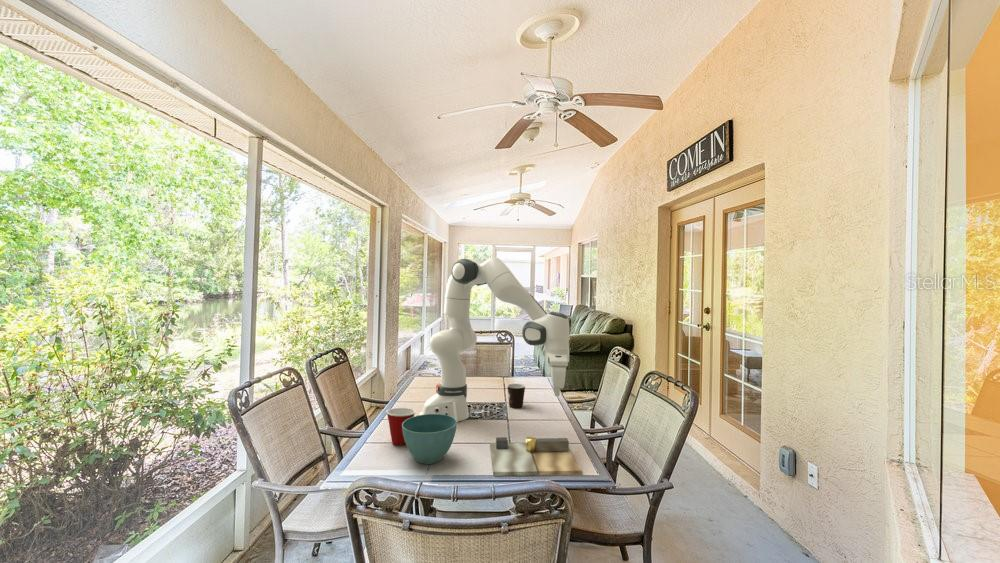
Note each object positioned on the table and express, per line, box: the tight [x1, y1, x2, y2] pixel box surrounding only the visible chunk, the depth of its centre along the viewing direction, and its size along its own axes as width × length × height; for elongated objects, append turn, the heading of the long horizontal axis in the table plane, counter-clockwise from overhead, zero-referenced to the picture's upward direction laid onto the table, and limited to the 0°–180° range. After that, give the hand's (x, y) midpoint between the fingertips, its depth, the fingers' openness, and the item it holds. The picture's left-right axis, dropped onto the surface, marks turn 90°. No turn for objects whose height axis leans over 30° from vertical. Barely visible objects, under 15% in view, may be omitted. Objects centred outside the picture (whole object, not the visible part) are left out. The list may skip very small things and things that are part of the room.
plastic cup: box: [385, 407, 417, 447], centre depth 149 cm, size 11×11×12 cm
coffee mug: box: [507, 383, 526, 410], centre depth 195 cm, size 12×9×10 cm
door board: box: [489, 442, 583, 477], centre depth 136 cm, size 28×22×1 cm
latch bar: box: [525, 436, 570, 452], centre depth 140 cm, size 15×4×4 cm, turn 94°
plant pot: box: [402, 414, 458, 465], centre depth 136 cm, size 18×18×12 cm
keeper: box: [495, 436, 509, 449], centre depth 143 cm, size 4×3×3 cm
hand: (556, 394), depth 147 cm, fingers closed
